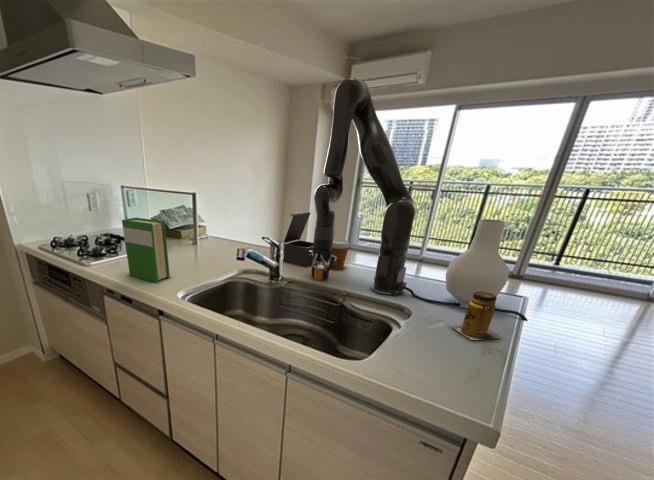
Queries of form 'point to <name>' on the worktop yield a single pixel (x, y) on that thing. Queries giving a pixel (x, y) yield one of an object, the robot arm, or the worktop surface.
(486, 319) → the condiment
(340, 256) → the disposable coffee cup
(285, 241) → the lid
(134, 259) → the hardback book
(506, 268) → the vase
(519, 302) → the worktop surface
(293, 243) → the dark grey lidded box
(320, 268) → the coffee pod
